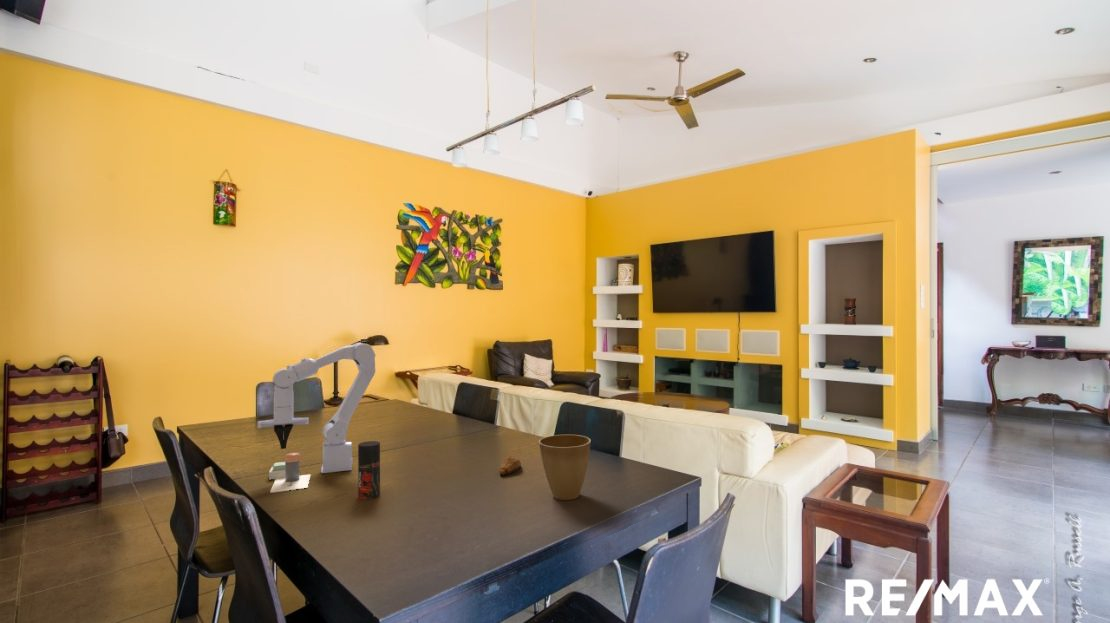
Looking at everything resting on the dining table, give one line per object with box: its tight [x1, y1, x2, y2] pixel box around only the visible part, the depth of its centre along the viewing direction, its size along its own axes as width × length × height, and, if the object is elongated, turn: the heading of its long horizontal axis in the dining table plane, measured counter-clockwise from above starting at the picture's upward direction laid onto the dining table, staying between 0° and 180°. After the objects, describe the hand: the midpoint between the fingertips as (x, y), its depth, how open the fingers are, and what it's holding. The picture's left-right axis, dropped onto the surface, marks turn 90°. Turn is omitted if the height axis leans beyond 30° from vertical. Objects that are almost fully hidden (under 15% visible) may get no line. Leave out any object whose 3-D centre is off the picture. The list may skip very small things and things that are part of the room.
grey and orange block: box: [284, 452, 301, 482], centre depth 159 cm, size 4×4×8 cm
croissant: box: [498, 456, 522, 477], centre depth 168 cm, size 14×7×5 cm, turn 161°
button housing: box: [268, 466, 285, 481], centre depth 164 cm, size 6×6×2 cm
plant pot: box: [538, 434, 592, 501], centre depth 144 cm, size 15×15×16 cm
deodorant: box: [357, 440, 381, 500], centre depth 146 cm, size 6×6×15 cm
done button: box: [272, 461, 285, 471], centre depth 164 cm, size 4×4×2 cm
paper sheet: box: [269, 473, 312, 494], centre depth 157 cm, size 10×14×1 cm
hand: (283, 448), depth 163 cm, fingers closed
